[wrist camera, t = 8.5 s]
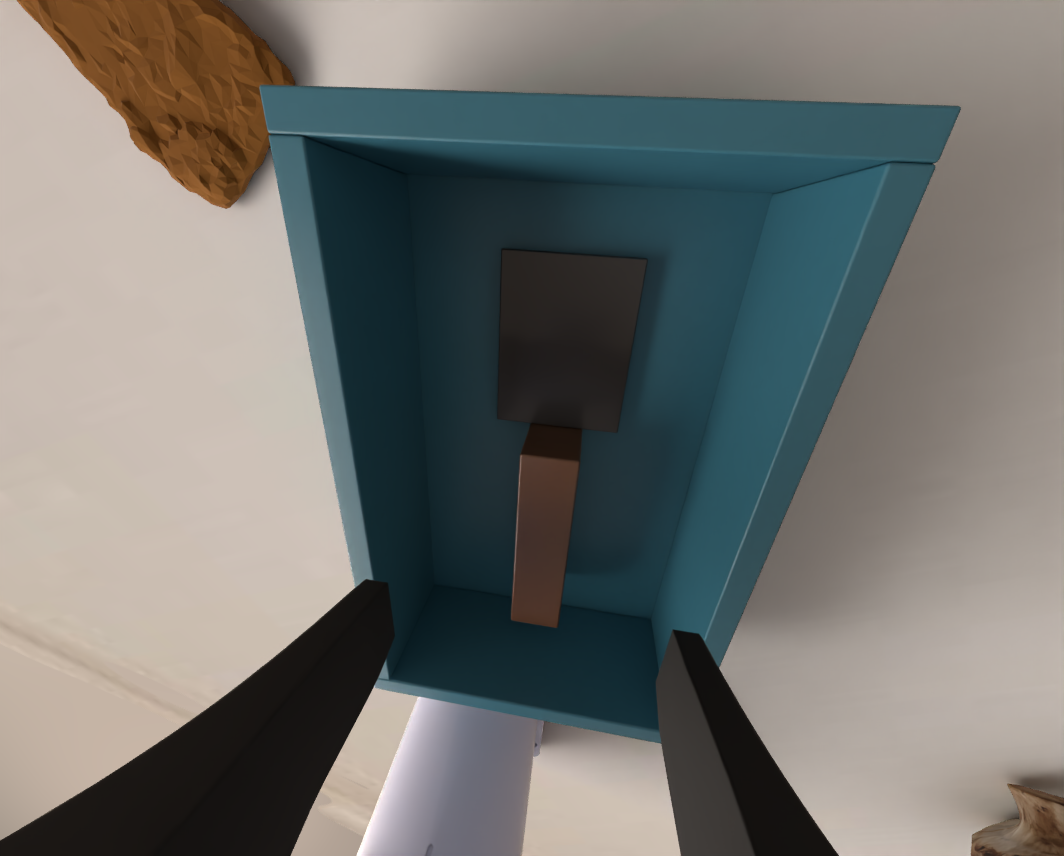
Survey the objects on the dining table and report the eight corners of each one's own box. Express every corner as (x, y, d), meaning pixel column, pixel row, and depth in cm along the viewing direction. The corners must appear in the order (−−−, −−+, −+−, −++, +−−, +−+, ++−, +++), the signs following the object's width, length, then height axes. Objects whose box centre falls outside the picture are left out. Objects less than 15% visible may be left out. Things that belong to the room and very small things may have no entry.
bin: (662, 623, 20) (684, 749, 15) (424, 584, 21) (373, 688, 16) (802, 164, 11) (964, 104, 6) (388, 145, 13) (257, 83, 8)
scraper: (590, 577, 19) (589, 634, 16) (495, 563, 19) (479, 616, 16) (646, 258, 12) (660, 262, 10) (504, 247, 13) (481, 249, 10)
